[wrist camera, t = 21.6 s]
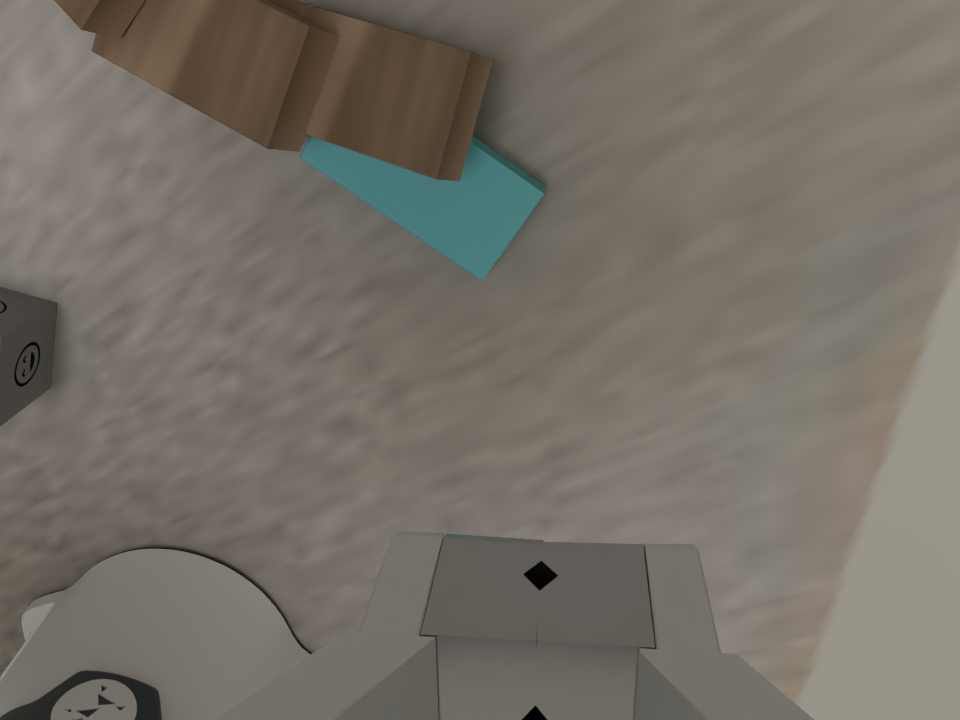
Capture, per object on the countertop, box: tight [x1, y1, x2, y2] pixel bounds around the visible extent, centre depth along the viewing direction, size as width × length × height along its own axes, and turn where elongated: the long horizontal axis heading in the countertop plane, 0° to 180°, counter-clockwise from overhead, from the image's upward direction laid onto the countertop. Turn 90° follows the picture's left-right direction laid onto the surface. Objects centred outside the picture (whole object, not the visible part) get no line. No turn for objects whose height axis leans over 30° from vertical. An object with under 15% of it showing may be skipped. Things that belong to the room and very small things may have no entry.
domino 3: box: [92, 0, 340, 152], centre depth 38 cm, size 2×5×10 cm
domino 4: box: [267, 0, 493, 181], centre depth 38 cm, size 2×5×10 cm
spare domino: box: [300, 135, 546, 281], centre depth 41 cm, size 2×5×10 cm
